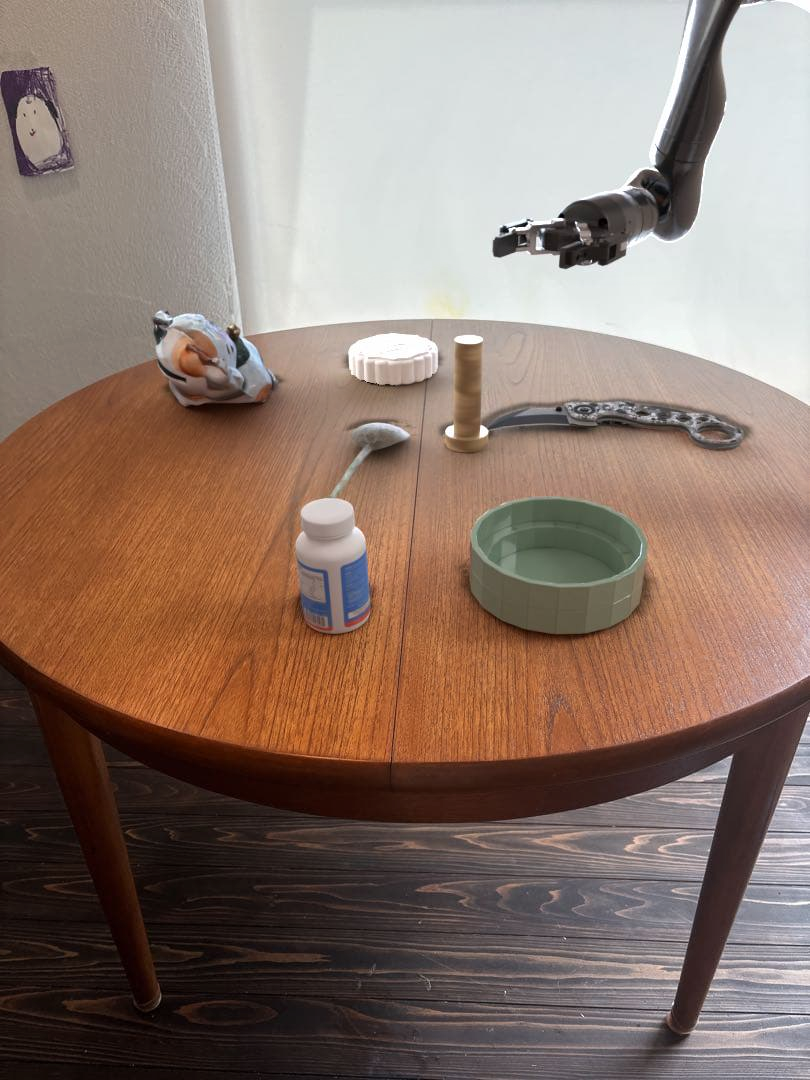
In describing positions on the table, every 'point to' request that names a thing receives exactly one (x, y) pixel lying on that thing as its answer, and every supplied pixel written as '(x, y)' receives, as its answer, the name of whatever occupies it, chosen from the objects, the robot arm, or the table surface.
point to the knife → (626, 420)
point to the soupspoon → (370, 446)
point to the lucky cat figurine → (209, 361)
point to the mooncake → (393, 359)
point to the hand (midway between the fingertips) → (528, 253)
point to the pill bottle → (332, 567)
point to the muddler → (467, 397)
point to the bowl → (557, 564)
